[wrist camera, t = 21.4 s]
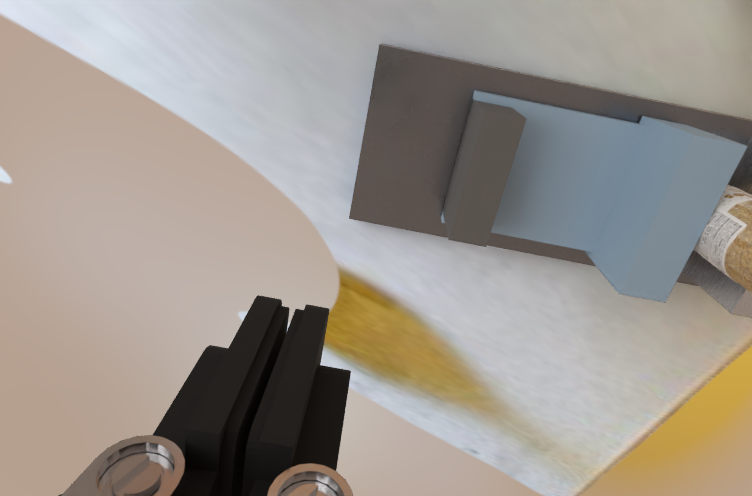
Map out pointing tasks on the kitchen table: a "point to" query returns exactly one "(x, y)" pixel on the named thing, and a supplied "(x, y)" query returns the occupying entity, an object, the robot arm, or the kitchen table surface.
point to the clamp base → (444, 134)
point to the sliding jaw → (589, 187)
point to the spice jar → (730, 236)
